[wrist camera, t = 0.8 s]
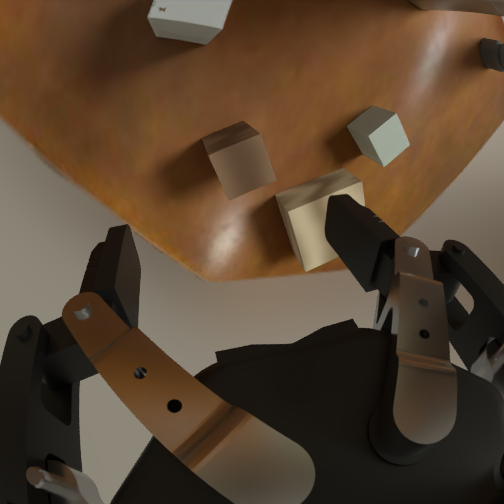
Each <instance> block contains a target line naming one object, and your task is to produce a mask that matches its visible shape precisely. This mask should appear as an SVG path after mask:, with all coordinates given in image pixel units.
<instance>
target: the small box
mask: <svg viewBox="0 0 504 504" xmlns="http://www.w3.org/2000/svg"><path fill="white" fill-rule="evenodd" d="M232 2H233V0H154V1H153V3H152V6H151V8H150V11H149V13H148V16H147V18H148V21H149V23H150V25H151V27H152V29H153V31H154V33H155V35H156V37H163V38H170V39H176V40H183V41H188V42H194V43H199V44H204V45H207V44H208V43H209V42H210V41H211V40H212V39H213V38H214V37H215V36H216V35H217V34H218V33H219V32H220V31H221V30H223V28H224V25H225V22H226V19H227V16H228V13H229V10H230V7H231V5H232Z"/></svg>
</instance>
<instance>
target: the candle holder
mask: <svg viewBox="0 0 504 504" xmlns="http://www.w3.org/2000/svg"><path fill="white" fill-rule="evenodd" d="M480 55H481V59H482V61H483V64H484V65H485V66H486V67H487V68H490V69H494V70H497V71H501V72H504V44H502V42H500V41H496V40H492V39H486V38H484V39H482V41H481V43H480Z"/></svg>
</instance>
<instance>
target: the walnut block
mask: <svg viewBox="0 0 504 504" xmlns="http://www.w3.org/2000/svg"><path fill="white" fill-rule="evenodd" d="M201 139H202V141H203V144H204V146H205V149H206V151H207V153H208V156H209V158H210V160H211V163H212V165H213V167H214V169H215V171H216V174H217V176H218V178H219V180H220V183H221V185H222V187H223V189H224V191H225V194H226V196H227V198H228V200H232V199H234V198H236V197H238V196H241V195H243V194H245V193H248V192H250V191H252V190H255V189H257V188H259V187H262V186H264V185H266V184H269V183H271V182H273V181H276V177H275V174H274V171H273V168H272V165H271V162H270V159H269V157H268V154H267V151H266V148H265V145H264V142H263V139H262V137H261V134H260V133H259V132H257V131H256V130H255V129H254V128H252V127H251V126H250V125H248V124H247V123H245V122H244V121H241V122H239V123H236V124H234V125H231V126H229V127H227V128H224V129H222V130H219V131H217V132H215V133H212V134H210V135H208V136H205V137H203V138H201Z"/></svg>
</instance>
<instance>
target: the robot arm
mask: <svg viewBox="0 0 504 504" xmlns="http://www.w3.org/2000/svg"><path fill="white" fill-rule="evenodd" d="M409 1H410V2H411V3H413V4H414V5H415V6H417V7H418V8H420V9H423V10H444V11H463V12H475V13H484V14H492V15H498V16H504V0H409ZM324 231H325V237H326V240H327V242H328V243H329V244H330V246H331V247H332V248H333V249H334V251H335V252H336V253H337V254H338V256H339V257H340V258H341V260H342V261H343V262H344V264H345V265H346V266H347V267H348V269H349V270H350V271H351V273H352V274H353V275H354V277H355V278H356V279H357V281H358V282H359V283H360V285H361V286H362V287H363V288H364V290H365V291H366V292H369V291H373V290H376V289H378V290H379V293H378V296H377V302H376V310H375V317H374V324H373V329H370V328H358V327H357V325H356V323H355V322H354V320H353V319H350V320H347V321H344V322H340V323H336V324H333V325H330V326H326V327H323V328H321V329H319V330H317V331H315V332H313V333H312V334H310V335H308V336H306V337H304V338H302V339H300V340H298V341H297V342H294V343H291V344H268V345H267V344H262V345H261V344H260V345H257V344H256V345H248V346H243V347H238V348H233V349H228V350H222V351H217V352H215V353H216V358H217V363H215V364H212V365H210V366H209V367H207V368H205V369H203V370H202V371H200V372H199V373H198V374H196V375H195V376H194V377H193V376H192V375H190V374H189V373H188V372H187V371H186V370H184V369H183V368H182V367H181V366H180V365H179V364H177V363H176V362H175V361H174V360H173V359H172V358H170V357H169V356H168V355H167V354H166V353H164V351H162V350H161V349H160V348H159V347H158V346H157V345H156V344H155V343H154V342H153V341H151V340H150V339H149V338H148V337H147V336H146V335H145V334H144V333H143V332H142V331H141V330H140V329H138V312H139V292H140V278H141V268H140V261H139V257H138V253H137V250H136V247H135V243H134V240H133V236H132V233H131V229H130V227H129V225H128V224H126V225H121V226H116V227H111V228H109V231H108V234H107V237H106V240H105V242H100V243H98V245H97V246H96V247H95V248H94V249H93V251H92V252H91V255H90V258H89V262H88V265H87V270H86V271H85V275H84V278H83V281H82V285H81V288H80V292H79V294H78V295H76V296H74V297H73V298H71V299H70V300H69V301H68V302H67V303H66V305H65V306H64V308H63V311H62V317H60V318H58V319H55V320H53V321H51V322H48V323H46V324H44V325H42V323H41V322H40V320H39V319H38V318H37V317H35V316H31V315H30V316H25V317H23V318H21V319H19V320H18V321H17V322H16V323H15V324H14V325H13V326H12V327H11V329H10V331H9V334H8V337H7V340H6V345H5V348H4V352H3V356H2V360H1V364H0V504H104V503H103V501H102V500H101V498H100V496H99V493H98V489H97V487H96V485H95V483H94V482H93V480H92V479H91V478H90V477H88V476H87V475H86V474H84V473H82V462H81V450H80V433H79V432H80V431H79V386H80V381H81V380H83V379H86V378H88V377H90V376H93V375H95V374H98V373H100V375H101V376H102V377H103V379H104V380H105V381H106V382H107V384H108V385H109V386H110V387H111V389H112V390H113V391H114V392H115V394H116V395H117V396H118V397H119V398H120V400H121V401H122V402H123V403H124V404H125V405H126V406H127V408H128V409H129V410H130V411H131V412H132V413H133V414H134V415H135V416H136V418H137V419H138V420H139V421H140V422H141V423H142V424H143V425H144V426H145V427H146V428H147V429H148V430H149V431H150V432H151V433H152V434H153V437H152V438H151V440H150V441H149V443H148V444H147V446H146V448H145V449H144V451H143V452H142V454H141V456H140V457H139V459H138V460H137V462H136V463H135V465H134V467H133V468H132V470H131V471H130V473H129V474H128V476H127V477H126V479H125V480H124V482H123V484H122V485H121V487H120V488H119V490H118V491H117V493H116V495H115V496H114V498H113V499H112V501H111V503H110V504H504V284H503V283H502V282H501V281H500V280H499V279H498V278H497V277H496V276H495V274H493V272H492V271H491V270H490V269H489V268H488V267H487V266H486V265H485V264H484V263H483V262H482V261H481V260H480V259H479V258H478V257H477V256H476V255H475V254H474V253H473V252H472V251H471V250H470V249H469V248H468V247H467V246H466V245H464V244H463V243H461V242H458V241H455V240H446V241H445V242H444V244H443V247H442V249H441V251H430V250H429V249H428V247H427V246H426V245H425V244H424V243H423V242H421V241H420V240H418V239H415V238H412V237H406V236H404V237H400V236H399V235H398V234H396V233H395V232H394V231H393V230H392V229H391V228H390V227H389V226H388V225H387V224H386V223H385V222H382V220H381V219H380V218H379V217H377V215H376V214H375V213H373V212H372V211H371V210H370V209H368V208H366V207H364V206H362V205H360V204H359V203H358V202H357V201H355V200H354V199H353V198H352V197H351V196H350V195H348V194H339V195H331V196H330V197H329V198H328V203H327V211H326V220H325V228H324ZM460 284H462V285H463V286H464V287H465V288H466V290H467V291H468V292H469V293H470V294H471V296H472V297H473V300H474V308H473V310H472V312H471V313H470V315H469V314H468V312H467V311H466V310H465V309H464V307H463V306H462V305H461V304H460V302H459V301H458V300H457V298H456V297H455V294H456V292H457V290H458V288H459V286H460ZM449 341H450V343H451V344H452V346H453V347H454V349H455V350H456V352H457V353H458V355H459V356H460V358H461V359H462V361H463V363H464V364H465V366H466V367H467V369H468V371H467V370H465V369H463V368H460V367H458V366H456V365H454V364H452V363H451V362H450V347H449Z"/></svg>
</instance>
